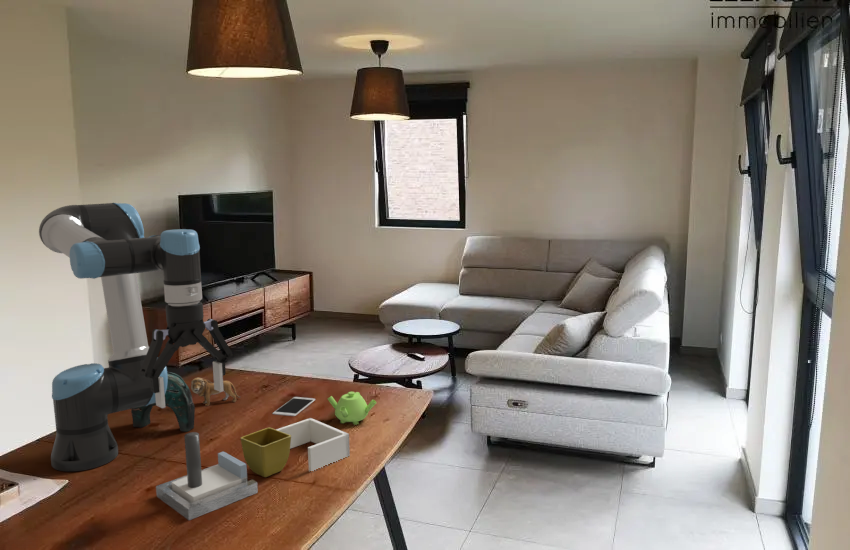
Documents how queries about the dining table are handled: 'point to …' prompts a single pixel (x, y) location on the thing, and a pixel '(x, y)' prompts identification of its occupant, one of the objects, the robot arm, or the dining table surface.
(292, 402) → the smartphone
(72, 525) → the dining table surface
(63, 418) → the robot arm
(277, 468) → the flower pot
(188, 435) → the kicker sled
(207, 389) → the lion figurine
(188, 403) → the teal arched figure
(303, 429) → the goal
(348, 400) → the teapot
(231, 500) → the rail base
